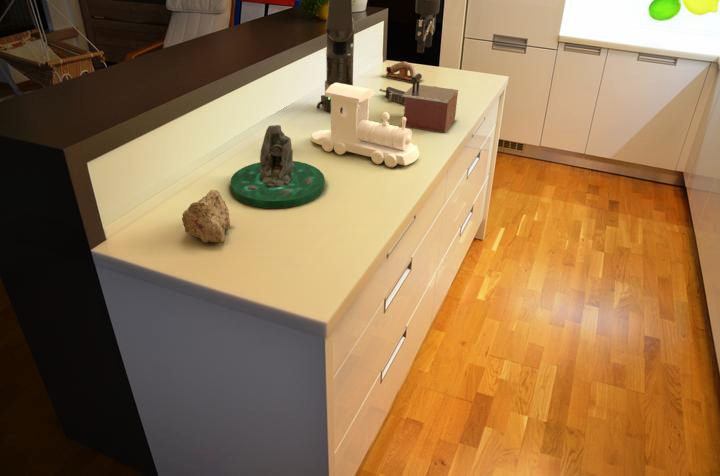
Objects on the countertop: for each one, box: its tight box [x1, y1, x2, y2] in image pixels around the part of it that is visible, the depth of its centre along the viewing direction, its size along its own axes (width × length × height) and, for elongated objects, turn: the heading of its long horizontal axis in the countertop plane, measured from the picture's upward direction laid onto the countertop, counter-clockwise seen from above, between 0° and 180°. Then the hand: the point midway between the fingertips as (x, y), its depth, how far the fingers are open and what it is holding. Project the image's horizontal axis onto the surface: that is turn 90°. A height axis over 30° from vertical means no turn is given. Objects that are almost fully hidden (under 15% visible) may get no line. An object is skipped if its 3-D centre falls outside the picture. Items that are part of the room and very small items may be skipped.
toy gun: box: [379, 86, 406, 105], centre depth 221 cm, size 3×32×15 cm
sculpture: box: [382, 61, 422, 84], centre depth 247 cm, size 7×16×7 cm, turn 59°
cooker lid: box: [403, 73, 459, 103], centre depth 198 cm, size 15×13×6 cm
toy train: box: [310, 83, 420, 168], centre depth 177 cm, size 12×35×19 cm, turn 60°
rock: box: [181, 189, 231, 243], centre depth 137 cm, size 11×12×10 cm
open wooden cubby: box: [403, 92, 459, 134], centre depth 201 cm, size 14×13×10 cm
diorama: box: [229, 124, 326, 209], centre depth 156 cm, size 25×25×15 cm
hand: (423, 49), depth 197 cm, fingers open, 8 cm apart
